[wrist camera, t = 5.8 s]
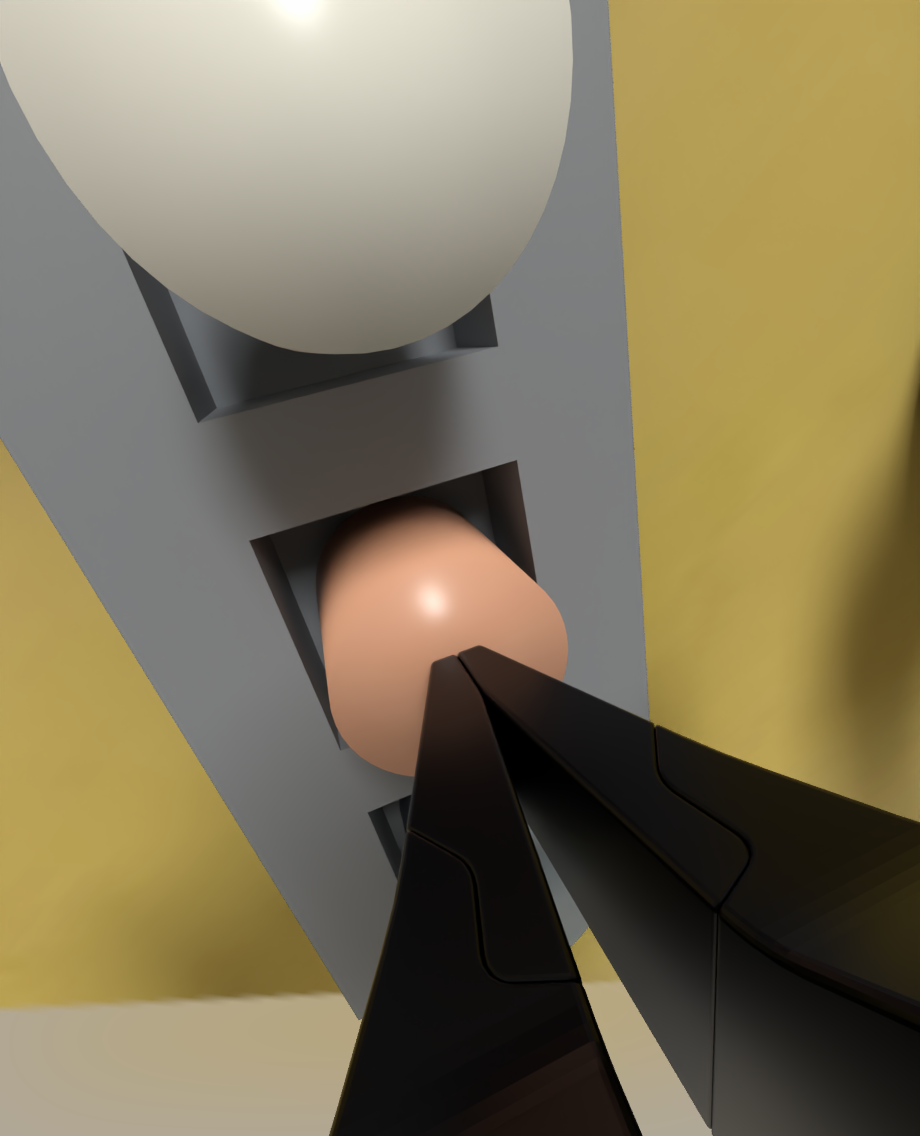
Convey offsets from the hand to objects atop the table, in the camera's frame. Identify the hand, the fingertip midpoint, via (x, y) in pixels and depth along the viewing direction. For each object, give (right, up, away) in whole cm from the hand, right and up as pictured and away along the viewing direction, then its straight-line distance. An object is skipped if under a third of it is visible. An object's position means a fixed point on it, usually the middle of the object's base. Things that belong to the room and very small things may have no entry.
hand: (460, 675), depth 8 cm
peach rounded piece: (-1, +1, +3) cm, 4 cm away
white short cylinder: (-2, +7, -1) cm, 7 cm away
